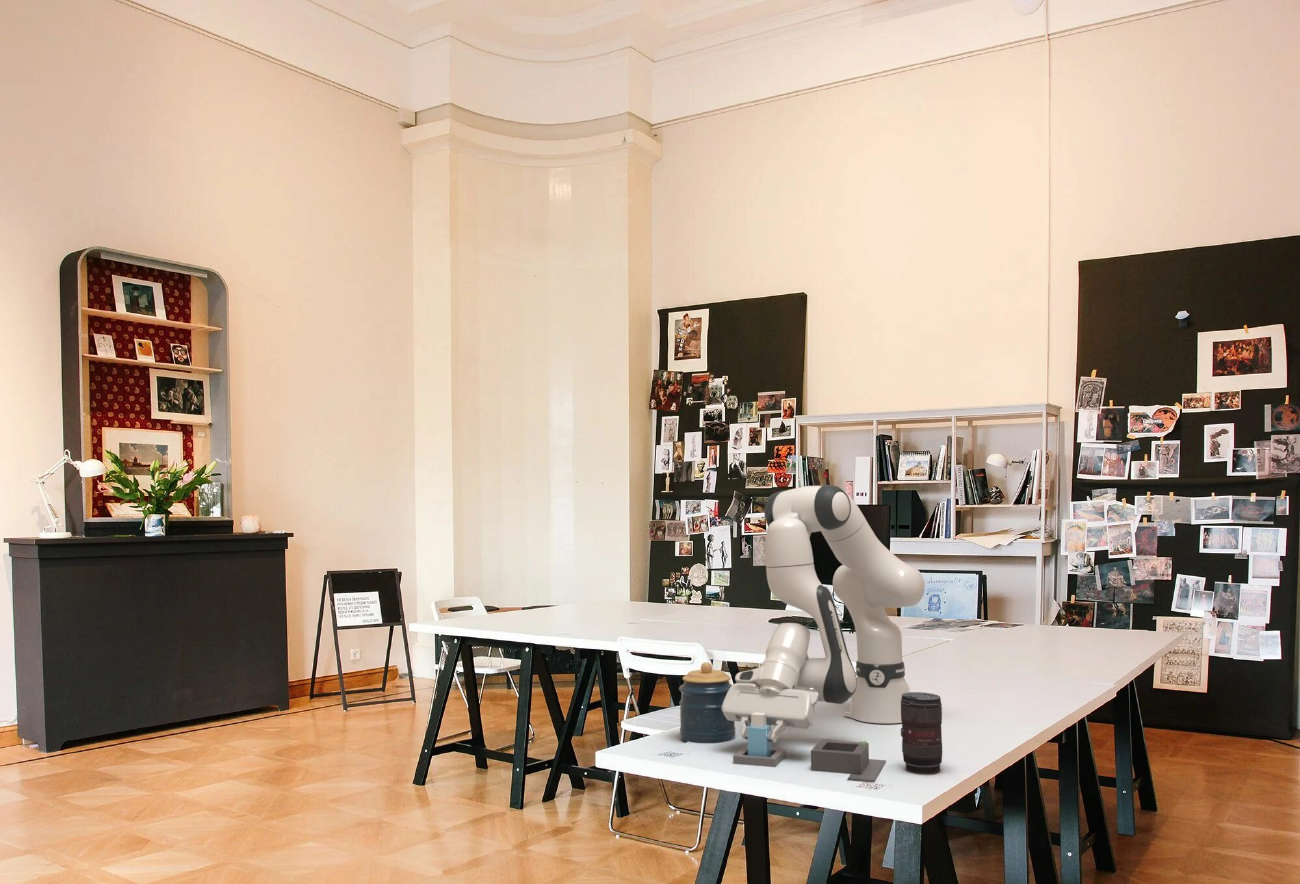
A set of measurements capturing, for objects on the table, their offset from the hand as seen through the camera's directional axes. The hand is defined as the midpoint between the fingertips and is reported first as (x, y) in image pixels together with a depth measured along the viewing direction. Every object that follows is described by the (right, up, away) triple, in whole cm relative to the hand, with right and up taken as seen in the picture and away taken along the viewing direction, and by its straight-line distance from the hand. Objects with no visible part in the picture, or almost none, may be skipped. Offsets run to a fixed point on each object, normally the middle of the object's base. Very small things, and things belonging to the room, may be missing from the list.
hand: (758, 739), depth 210 cm
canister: (-9, -7, +22) cm, 25 cm away
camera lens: (+33, -4, -8) cm, 34 cm away
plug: (0, -4, 0) cm, 4 cm away
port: (+16, -4, -6) cm, 18 cm away
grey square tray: (0, -5, 0) cm, 5 cm away
